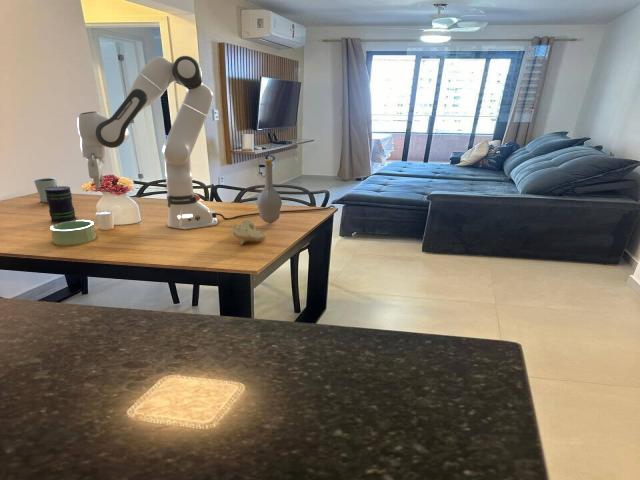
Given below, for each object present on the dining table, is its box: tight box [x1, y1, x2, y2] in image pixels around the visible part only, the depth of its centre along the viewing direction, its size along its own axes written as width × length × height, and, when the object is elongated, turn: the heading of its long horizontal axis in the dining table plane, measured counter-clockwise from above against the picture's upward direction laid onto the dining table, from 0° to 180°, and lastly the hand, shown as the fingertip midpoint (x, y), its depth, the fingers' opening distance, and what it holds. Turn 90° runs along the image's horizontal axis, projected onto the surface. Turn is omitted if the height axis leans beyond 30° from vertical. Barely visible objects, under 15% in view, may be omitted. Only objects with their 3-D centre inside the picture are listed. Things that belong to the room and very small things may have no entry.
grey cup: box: [33, 177, 58, 204], centre depth 212 cm, size 10×10×12 cm
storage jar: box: [45, 185, 77, 223], centre depth 177 cm, size 10×10×15 cm
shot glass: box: [95, 210, 115, 231], centre depth 168 cm, size 7×7×7 cm
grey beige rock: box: [231, 218, 267, 246], centre depth 153 cm, size 15×7×15 cm
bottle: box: [256, 159, 283, 225], centre depth 176 cm, size 11×11×30 cm
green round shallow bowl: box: [49, 219, 97, 247], centre depth 152 cm, size 15×15×6 cm
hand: (99, 185), depth 163 cm, fingers open, 8 cm apart
